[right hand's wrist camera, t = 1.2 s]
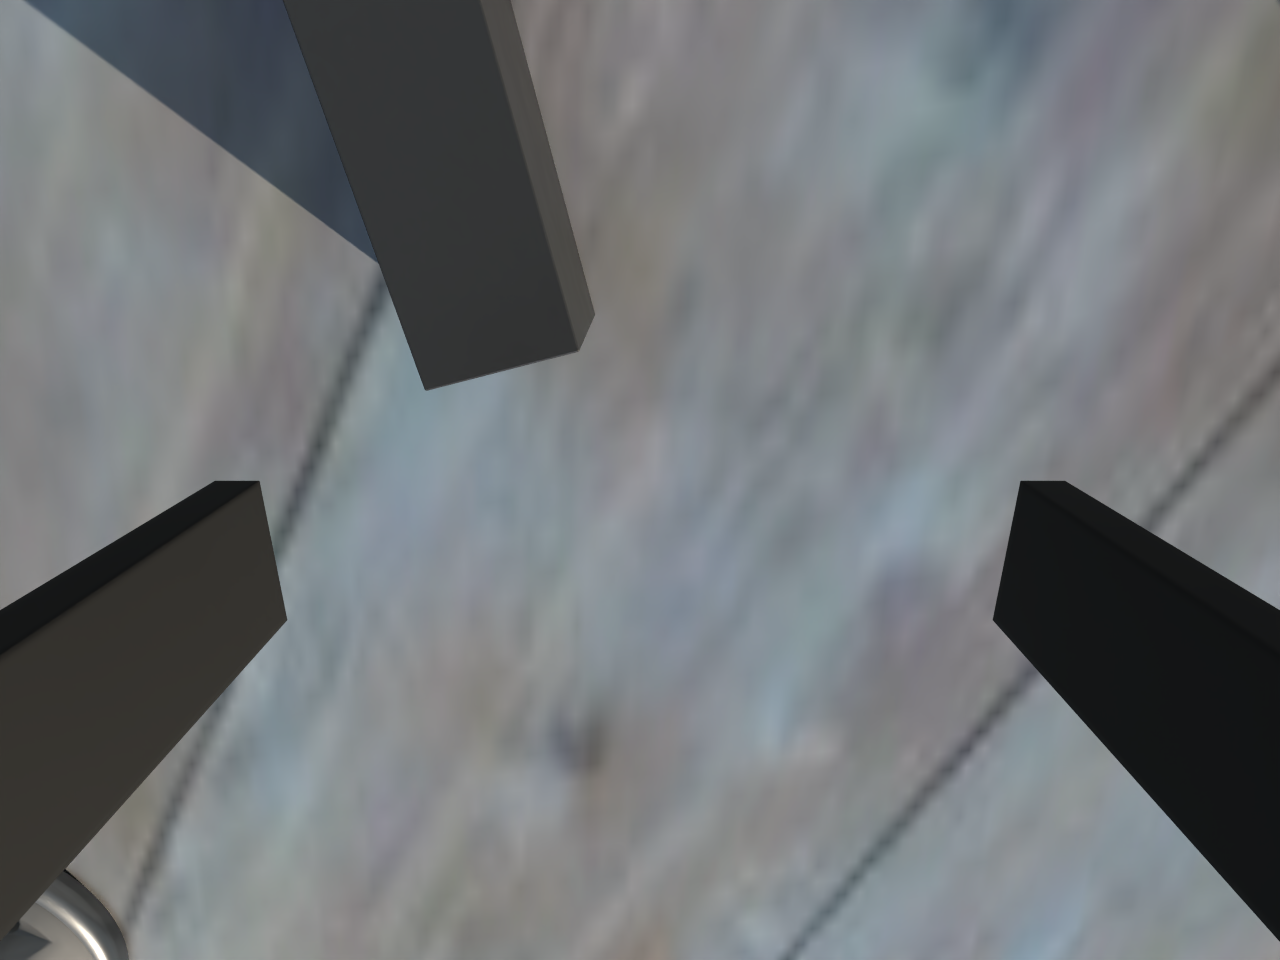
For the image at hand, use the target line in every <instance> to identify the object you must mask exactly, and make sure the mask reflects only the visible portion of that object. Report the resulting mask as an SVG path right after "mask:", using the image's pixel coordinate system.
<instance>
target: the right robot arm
mask: <svg viewBox="0 0 1280 960" xmlns="http://www.w3.org/2000/svg"><path fill="white" fill-rule="evenodd" d="M286 621H287V616H286V611H285V606H284V601H283V596H282V591H281V586H280V581H279V576H278V571H277V566H276V561H275V556H274V551H273V546H272V541H271V536H270V531H269V526H268V521H267V516H266V511H265V506H264V501H263V496H262V491H261V486H260V481H214V482H212V483H211V484H209V485H207V486H206V487H204V488H202V489H201V490H199V491H197V492H196V493H194V494H192V495H191V496H189V497H187V498H186V499H184V500H182V501H181V502H179V503H178V504H176V505H174V506H173V507H171V508H169V509H168V510H166V511H164V512H163V513H161V514H159V515H158V516H156V517H154V518H153V519H151V520H149V521H148V522H146V523H144V524H143V525H141V526H139V527H138V528H136V529H134V530H133V531H131V532H129V533H128V534H126V535H124V536H123V537H121V538H119V539H118V540H116V541H114V542H113V543H111V544H109V545H108V546H106V547H104V548H103V549H101V550H99V551H98V552H96V553H95V554H93V555H91V556H90V557H88V558H86V559H85V560H83V561H81V562H80V563H78V564H76V565H75V566H73V567H71V568H70V569H68V570H66V571H65V572H63V573H61V574H60V575H58V576H56V577H55V578H53V579H51V580H50V581H48V582H46V583H45V584H43V585H41V586H40V587H38V588H36V589H35V590H33V591H31V592H30V593H28V594H26V595H25V596H23V597H21V598H20V599H18V600H16V601H15V602H13V603H12V604H10V605H8V606H7V607H5V608H3V609H2V610H0V960H129V958H128V951H127V947H126V944H125V941H124V938H123V936H122V933H121V931H120V929H119V927H118V926H117V924H116V922H115V920H114V919H113V918H112V916H111V915H110V913H109V912H108V911H107V909H106V908H105V907H104V906H103V904H102V903H101V902H100V901H99V900H98V899H97V898H96V897H95V896H94V895H93V894H92V893H91V892H90V891H89V890H88V889H87V888H85V887H84V886H83V885H82V884H81V883H79V882H78V881H77V880H75V879H74V878H73V877H71V876H70V875H68V874H67V873H65V872H64V870H65V868H66V867H67V866H68V865H69V864H70V863H71V862H72V861H73V859H74V858H75V857H76V856H77V855H78V854H79V853H80V852H81V850H82V849H83V848H84V847H85V846H86V845H87V844H88V843H89V842H90V840H91V839H92V838H93V837H94V836H95V835H96V834H97V833H98V831H99V830H100V829H101V828H102V827H103V826H104V825H105V824H106V822H107V821H108V820H109V819H110V818H111V817H112V816H113V815H114V814H115V812H116V811H117V810H118V809H119V808H120V807H121V806H122V805H123V803H124V802H125V801H126V800H127V799H128V798H129V797H130V796H131V794H132V793H133V792H134V791H135V790H136V789H137V788H138V787H139V785H140V784H141V783H142V782H143V781H144V780H145V779H146V778H147V777H148V775H149V774H150V773H151V772H152V771H153V770H154V769H155V768H156V766H157V765H158V764H159V763H160V762H161V761H162V760H163V759H164V757H165V756H166V755H167V754H168V753H169V752H170V751H171V750H172V749H173V747H174V746H175V745H176V744H177V743H178V742H179V741H180V740H181V738H182V737H183V736H184V735H185V734H186V733H187V732H188V731H189V729H190V728H191V727H192V726H193V725H194V724H195V723H196V722H197V721H198V719H199V718H200V717H201V716H202V715H203V714H204V713H205V712H206V710H207V709H208V708H209V707H210V706H211V705H212V704H213V703H214V701H215V700H216V699H217V698H218V697H219V696H220V695H221V694H222V693H223V691H224V690H225V689H226V688H227V687H228V686H229V685H230V684H231V682H232V681H233V680H234V679H235V678H236V677H237V676H238V675H239V673H240V672H241V671H242V670H243V669H244V668H245V667H246V666H247V665H248V663H249V662H250V661H251V660H252V659H253V658H254V657H255V656H256V654H257V653H258V652H259V651H260V650H261V649H262V648H263V647H264V645H265V644H266V643H267V642H268V641H269V640H270V639H271V638H272V637H273V635H274V634H275V633H276V632H277V631H278V630H279V629H280V628H281V626H282V625H283V624H284V623H285V622H286ZM993 621H994V622H995V623H996V624H997V625H998V626H999V628H1000V629H1001V630H1002V631H1003V632H1004V633H1005V634H1006V635H1007V637H1008V638H1009V639H1010V640H1011V641H1012V642H1013V643H1014V644H1015V645H1016V647H1017V648H1018V649H1019V650H1020V651H1021V652H1022V653H1023V654H1024V656H1025V657H1026V658H1027V659H1028V660H1029V661H1030V662H1031V663H1032V665H1033V666H1034V667H1035V668H1036V669H1037V670H1038V671H1039V672H1040V673H1041V675H1042V676H1043V677H1044V678H1045V679H1046V680H1047V681H1048V682H1049V684H1050V685H1051V686H1052V687H1053V688H1054V689H1055V690H1056V691H1057V693H1058V694H1059V695H1060V696H1061V697H1062V698H1063V699H1064V700H1065V701H1066V703H1067V704H1068V705H1069V706H1070V707H1071V708H1072V709H1073V710H1074V712H1075V713H1076V714H1077V715H1078V716H1079V717H1080V718H1081V719H1082V721H1083V722H1084V723H1085V724H1086V725H1087V726H1088V727H1089V728H1090V729H1091V731H1092V732H1093V733H1094V734H1095V735H1096V736H1097V737H1098V738H1099V740H1100V741H1101V742H1102V743H1103V744H1104V745H1105V746H1106V747H1107V749H1108V750H1109V751H1110V752H1111V753H1112V754H1113V755H1114V756H1115V757H1116V759H1117V760H1118V761H1119V762H1120V763H1121V764H1122V765H1123V766H1124V768H1125V769H1126V770H1127V771H1128V772H1129V773H1130V774H1131V775H1132V777H1133V778H1134V779H1135V780H1136V781H1137V782H1138V783H1139V784H1140V786H1141V787H1142V788H1143V789H1144V790H1145V791H1146V792H1147V793H1148V794H1149V796H1150V797H1151V798H1152V799H1153V800H1154V801H1155V802H1156V803H1157V805H1158V806H1159V807H1160V808H1161V809H1162V810H1163V811H1164V812H1165V814H1166V815H1167V816H1168V817H1169V818H1170V819H1171V820H1172V821H1173V822H1174V824H1175V825H1176V826H1177V827H1178V828H1179V829H1180V830H1181V831H1182V833H1183V834H1184V835H1185V836H1186V837H1187V838H1188V839H1189V840H1190V842H1191V843H1192V844H1193V845H1194V846H1195V847H1196V848H1197V849H1198V850H1199V852H1200V853H1201V854H1202V855H1203V856H1204V857H1205V858H1206V859H1207V861H1208V862H1209V863H1210V864H1211V865H1212V866H1213V867H1214V868H1215V870H1216V871H1217V872H1218V873H1219V874H1220V875H1221V876H1222V877H1223V878H1224V880H1225V881H1226V882H1227V883H1228V884H1229V885H1230V886H1231V887H1232V889H1233V890H1234V891H1235V892H1236V893H1237V894H1238V895H1239V896H1240V898H1241V899H1242V900H1243V901H1244V902H1245V903H1246V904H1247V905H1248V906H1249V908H1250V909H1251V910H1252V911H1253V912H1254V913H1255V914H1256V915H1257V917H1258V918H1259V919H1260V920H1261V921H1262V922H1263V923H1264V924H1265V926H1266V927H1267V928H1268V929H1269V930H1270V931H1271V932H1272V933H1273V934H1274V936H1275V937H1276V938H1277V939H1278V940H1279V941H1280V610H1278V609H1277V608H1275V607H1273V606H1272V605H1270V604H1268V603H1267V602H1265V601H1264V600H1262V599H1260V598H1259V597H1257V596H1255V595H1254V594H1252V593H1250V592H1249V591H1247V590H1245V589H1244V588H1242V587H1240V586H1239V585H1237V584H1235V583H1234V582H1232V581H1230V580H1229V579H1227V578H1225V577H1224V576H1222V575H1220V574H1219V573H1217V572H1215V571H1214V570H1212V569H1210V568H1209V567H1207V566H1205V565H1204V564H1202V563H1200V562H1199V561H1197V560H1195V559H1194V558H1192V557H1190V556H1189V555H1187V554H1185V553H1184V552H1182V551H1181V550H1179V549H1177V548H1176V547H1174V546H1172V545H1171V544H1169V543H1167V542H1166V541H1164V540H1162V539H1161V538H1159V537H1157V536H1156V535H1154V534H1152V533H1151V532H1149V531H1147V530H1146V529H1144V528H1142V527H1141V526H1139V525H1137V524H1136V523H1134V522H1132V521H1131V520H1129V519H1127V518H1126V517H1124V516H1122V515H1121V514H1119V513H1117V512H1116V511H1114V510H1112V509H1111V508H1109V507H1107V506H1106V505H1104V504H1102V503H1101V502H1099V501H1098V500H1096V499H1094V498H1093V497H1091V496H1089V495H1088V494H1086V493H1084V492H1083V491H1081V490H1079V489H1078V488H1076V487H1074V486H1073V485H1071V484H1069V483H1068V482H1066V481H1020V486H1019V491H1018V496H1017V501H1016V506H1015V511H1014V516H1013V521H1012V526H1011V531H1010V536H1009V541H1008V546H1007V551H1006V556H1005V561H1004V566H1003V571H1002V576H1001V581H1000V586H999V591H998V596H997V601H996V606H995V611H994V616H993Z"/></svg>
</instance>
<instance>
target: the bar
mask: <svg viewBox="0 0 1280 960" xmlns="http://www.w3.org/2000/svg"><path fill="white" fill-rule="evenodd" d="M283 2H284V5H285V7H286V10H287V13H288V16H289V18H290V21H291V24H292V26H293V29H294V32H295V35H296V37H297V40H298V43H299V46H300V48H301V51H302V54H303V57H304V59H305V62H306V65H307V68H308V70H309V73H310V76H311V79H312V81H313V84H314V87H315V90H316V92H317V95H318V98H319V101H320V103H321V106H322V109H323V112H324V114H325V117H326V120H327V123H328V125H329V128H330V131H331V133H332V136H333V139H334V142H335V144H336V147H337V150H338V153H339V155H340V158H341V161H342V164H343V166H344V169H345V172H346V175H347V177H348V180H349V183H350V186H351V188H352V191H353V194H354V197H355V199H356V202H357V205H358V208H359V210H360V213H361V216H362V219H363V221H364V224H365V227H366V230H367V232H368V235H369V238H370V240H371V243H372V246H373V249H374V251H375V254H376V257H377V260H378V262H379V265H380V268H381V271H382V273H383V276H384V279H385V282H386V284H387V287H388V290H389V293H390V295H391V298H392V301H393V304H394V306H395V309H396V312H397V315H398V317H399V320H400V323H401V326H402V328H403V331H404V334H405V337H406V339H407V342H408V345H409V347H410V350H411V353H412V356H413V358H414V361H415V364H416V367H417V369H418V372H419V375H420V378H421V380H422V383H423V386H424V389H425V390H431V389H435V388H439V387H443V386H447V385H451V384H455V383H458V382H462V381H466V380H470V379H474V378H478V377H482V376H486V375H490V374H493V373H497V372H501V371H505V370H509V369H513V368H517V367H521V366H525V365H528V364H532V363H536V362H540V361H544V360H548V359H552V358H556V357H559V356H563V355H567V354H571V353H575V352H578V351H579V350H580V348H581V345H582V343H583V341H584V338H585V336H586V334H587V332H588V329H589V327H590V325H591V323H592V320H593V318H594V316H595V313H594V309H593V305H592V302H591V298H590V294H589V291H588V287H587V283H586V279H585V276H584V272H583V268H582V265H581V261H580V257H579V253H578V250H577V246H576V242H575V239H574V235H573V231H572V228H571V224H570V220H569V216H568V213H567V209H566V205H565V202H564V198H563V194H562V190H561V187H560V183H559V179H558V176H557V172H556V168H555V164H554V161H553V157H552V153H551V150H550V146H549V142H548V139H547V135H546V131H545V127H544V124H543V120H542V116H541V113H540V109H539V105H538V101H537V98H536V94H535V90H534V87H533V83H532V79H531V75H530V72H529V68H528V64H527V61H526V57H525V53H524V49H523V46H522V42H521V38H520V35H519V31H518V27H517V24H516V20H515V16H514V12H513V9H512V5H511V1H510V0H283Z"/></svg>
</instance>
